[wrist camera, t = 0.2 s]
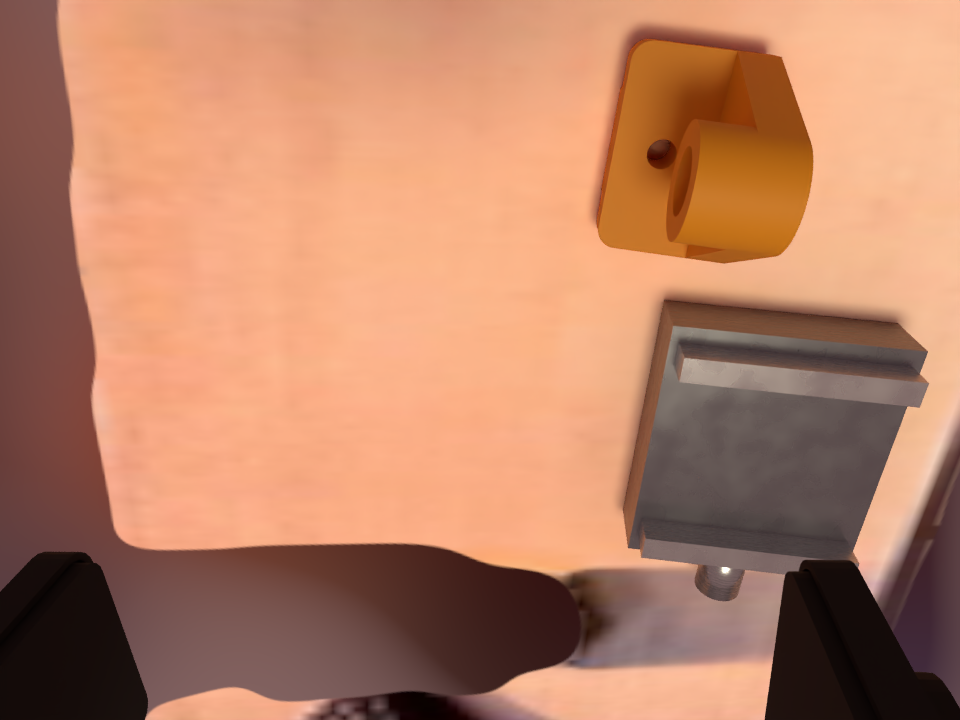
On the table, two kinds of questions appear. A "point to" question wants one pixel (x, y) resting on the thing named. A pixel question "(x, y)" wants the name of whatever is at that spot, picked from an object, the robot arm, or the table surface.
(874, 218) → the table surface
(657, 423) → the block
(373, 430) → the table surface
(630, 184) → the bracket
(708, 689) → the table surface
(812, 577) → the robot arm
